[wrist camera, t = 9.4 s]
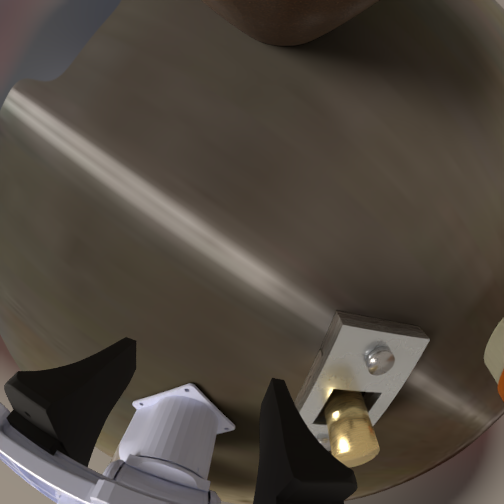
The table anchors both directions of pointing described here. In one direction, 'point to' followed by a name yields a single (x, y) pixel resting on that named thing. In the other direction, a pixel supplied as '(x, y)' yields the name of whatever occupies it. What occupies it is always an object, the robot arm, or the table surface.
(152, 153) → the table surface
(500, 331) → the reusable coffee cup
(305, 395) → the square-hole plate
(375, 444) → the brass pin
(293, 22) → the plant pot
